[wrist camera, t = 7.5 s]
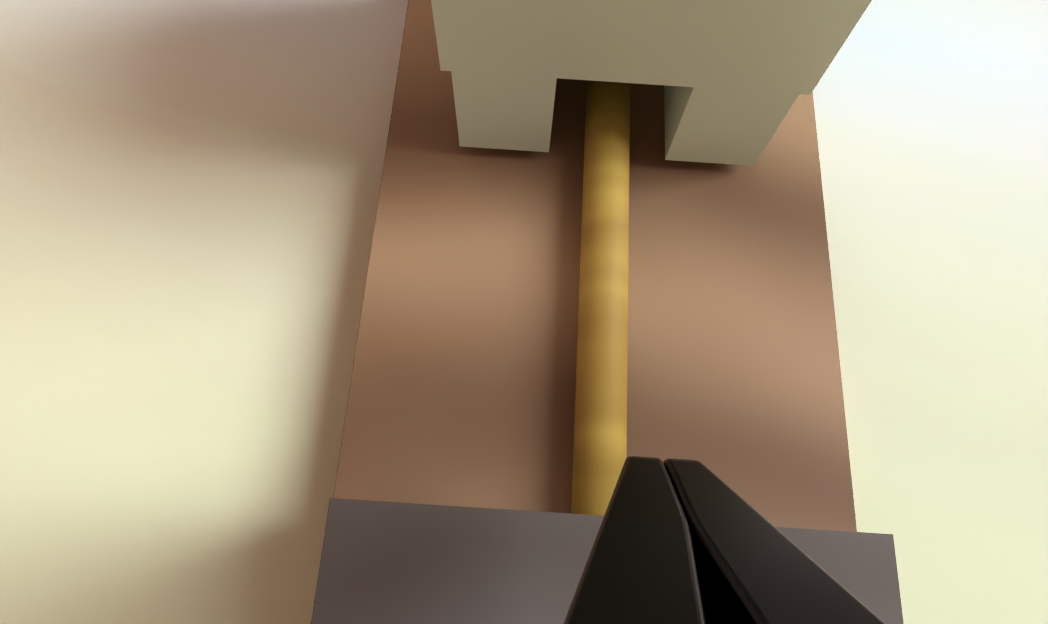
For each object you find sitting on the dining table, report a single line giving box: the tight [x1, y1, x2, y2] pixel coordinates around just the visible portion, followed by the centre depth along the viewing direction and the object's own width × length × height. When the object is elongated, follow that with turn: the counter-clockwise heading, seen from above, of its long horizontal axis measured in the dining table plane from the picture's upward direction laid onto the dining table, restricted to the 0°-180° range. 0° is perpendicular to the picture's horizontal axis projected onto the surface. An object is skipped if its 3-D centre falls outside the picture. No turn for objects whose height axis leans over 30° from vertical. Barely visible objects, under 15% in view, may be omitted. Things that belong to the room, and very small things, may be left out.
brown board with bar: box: [311, 0, 903, 624], centre depth 14 cm, size 22×10×6 cm, turn 176°
